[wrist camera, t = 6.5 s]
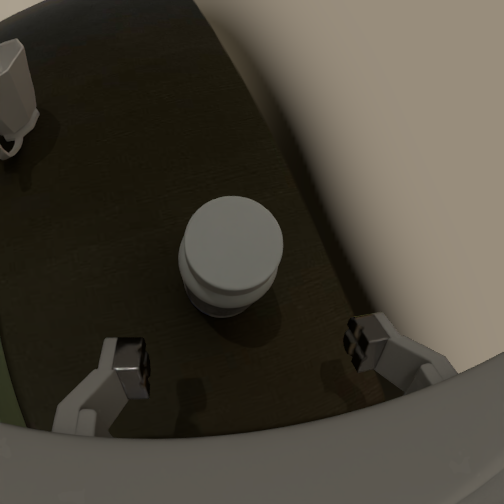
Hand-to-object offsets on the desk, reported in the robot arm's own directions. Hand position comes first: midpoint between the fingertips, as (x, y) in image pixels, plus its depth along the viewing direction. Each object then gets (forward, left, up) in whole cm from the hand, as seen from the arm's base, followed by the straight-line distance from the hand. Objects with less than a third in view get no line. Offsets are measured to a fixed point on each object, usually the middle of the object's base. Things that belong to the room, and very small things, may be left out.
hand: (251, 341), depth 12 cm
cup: (+22, +13, -8) cm, 27 cm away
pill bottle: (+4, -1, -8) cm, 9 cm away
